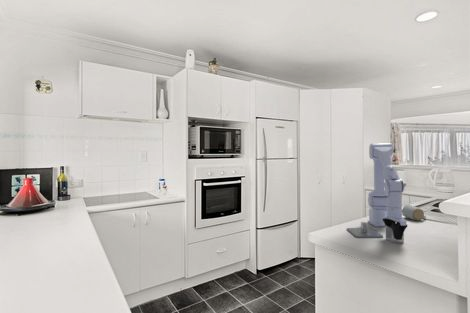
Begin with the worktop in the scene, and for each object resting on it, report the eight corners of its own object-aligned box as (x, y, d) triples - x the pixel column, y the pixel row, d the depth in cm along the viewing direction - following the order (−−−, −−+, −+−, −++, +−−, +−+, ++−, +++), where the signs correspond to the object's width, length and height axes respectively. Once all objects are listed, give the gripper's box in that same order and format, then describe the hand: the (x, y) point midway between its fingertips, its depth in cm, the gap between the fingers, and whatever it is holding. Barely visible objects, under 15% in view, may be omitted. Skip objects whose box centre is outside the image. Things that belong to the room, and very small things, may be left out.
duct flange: (346, 229, 131) (346, 219, 131) (371, 229, 130) (370, 219, 130) (356, 237, 119) (356, 226, 119) (383, 237, 118) (382, 226, 118)
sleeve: (385, 238, 117) (385, 225, 116) (397, 238, 116) (397, 225, 116) (391, 242, 112) (391, 229, 111) (403, 242, 111) (403, 228, 111)
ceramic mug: (413, 221, 141) (413, 207, 141) (401, 217, 149) (401, 204, 149) (430, 220, 143) (430, 206, 142) (417, 216, 151) (417, 203, 150)
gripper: (376, 203, 121) (377, 231, 121) (393, 210, 107) (394, 242, 107) (392, 203, 121) (392, 231, 121) (411, 210, 106) (411, 242, 106)
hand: (394, 236), depth 114 cm, fingers open, 6 cm apart
